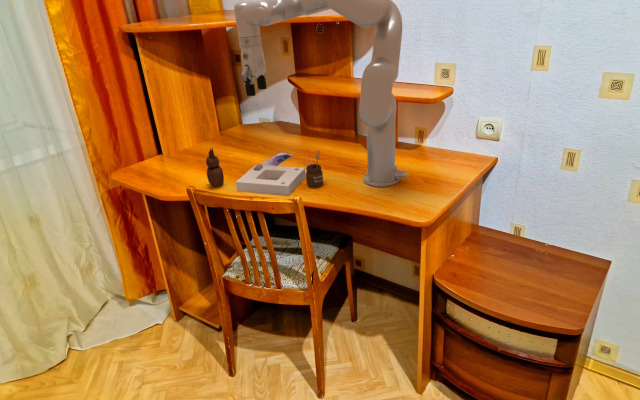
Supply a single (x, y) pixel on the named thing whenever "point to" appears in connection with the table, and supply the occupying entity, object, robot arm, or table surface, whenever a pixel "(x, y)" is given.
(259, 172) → the socket block
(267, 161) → the smartphone
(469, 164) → the table surface
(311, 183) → the utensil holder
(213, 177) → the wooden figurine
